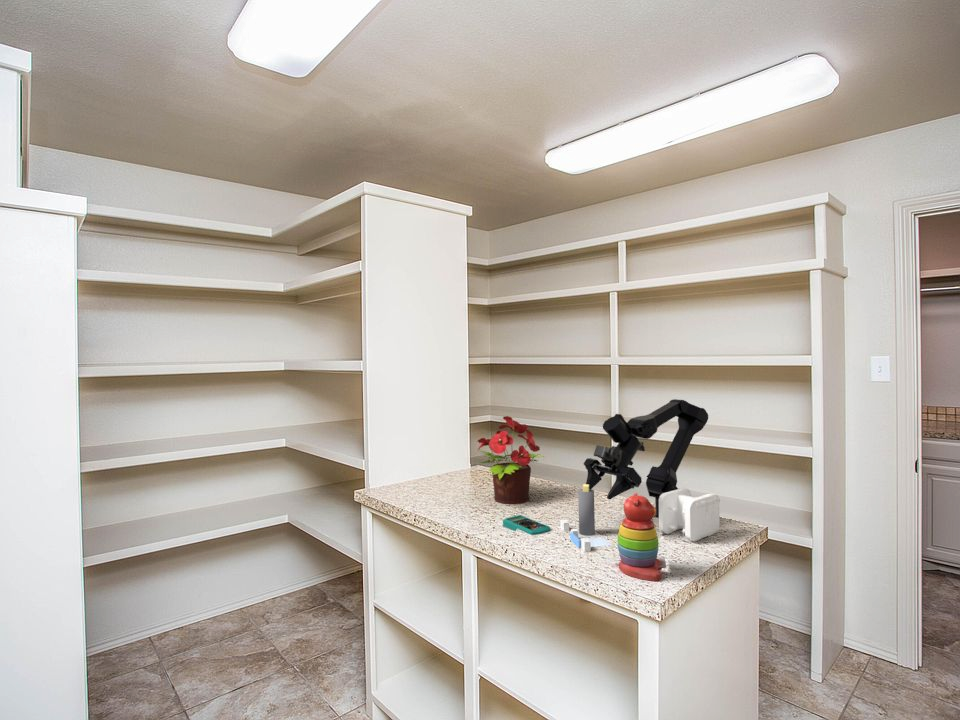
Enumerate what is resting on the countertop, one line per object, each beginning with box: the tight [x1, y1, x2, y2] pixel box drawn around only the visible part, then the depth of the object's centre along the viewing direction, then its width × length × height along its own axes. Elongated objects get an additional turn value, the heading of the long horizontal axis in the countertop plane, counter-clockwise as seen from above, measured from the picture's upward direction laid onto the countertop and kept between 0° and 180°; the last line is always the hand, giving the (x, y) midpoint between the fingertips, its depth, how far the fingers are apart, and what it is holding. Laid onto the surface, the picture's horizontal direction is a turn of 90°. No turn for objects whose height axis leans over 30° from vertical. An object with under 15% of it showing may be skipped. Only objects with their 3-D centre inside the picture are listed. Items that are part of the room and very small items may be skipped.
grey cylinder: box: [577, 483, 596, 536], centre depth 147 cm, size 4×4×14 cm
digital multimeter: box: [502, 514, 552, 536], centre depth 154 cm, size 7×15×3 cm, turn 33°
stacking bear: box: [617, 492, 663, 582], centre depth 124 cm, size 11×10×18 cm
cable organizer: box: [658, 487, 721, 543], centre depth 149 cm, size 15×11×12 cm
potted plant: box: [474, 415, 547, 505], centre depth 190 cm, size 30×27×30 cm
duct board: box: [560, 519, 613, 553], centre depth 144 cm, size 20×13×4 cm, turn 10°
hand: (596, 495), depth 149 cm, fingers open, 9 cm apart
